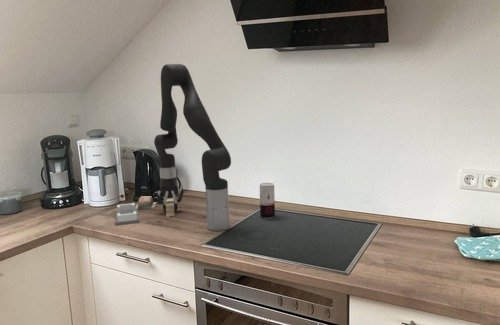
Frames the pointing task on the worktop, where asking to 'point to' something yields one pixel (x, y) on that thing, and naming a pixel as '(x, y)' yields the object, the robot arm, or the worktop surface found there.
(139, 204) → the packaged product
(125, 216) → the board
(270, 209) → the beverage can
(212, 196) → the robot arm
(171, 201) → the slat
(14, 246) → the worktop surface
